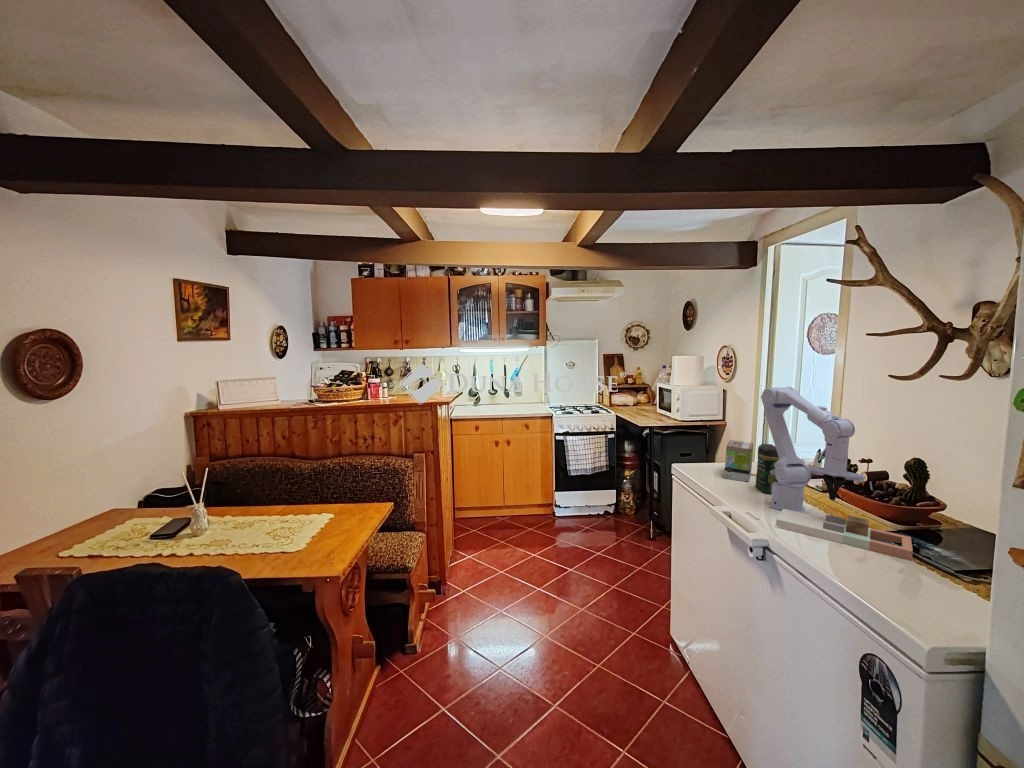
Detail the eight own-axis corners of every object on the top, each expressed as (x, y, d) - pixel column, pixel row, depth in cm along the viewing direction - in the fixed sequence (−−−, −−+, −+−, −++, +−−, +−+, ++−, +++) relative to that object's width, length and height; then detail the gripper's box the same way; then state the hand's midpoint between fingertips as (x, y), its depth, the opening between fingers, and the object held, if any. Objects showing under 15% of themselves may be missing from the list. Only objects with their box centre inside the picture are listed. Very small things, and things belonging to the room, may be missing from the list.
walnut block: (845, 531, 128) (846, 520, 128) (847, 526, 132) (847, 515, 131) (867, 536, 125) (868, 525, 124) (868, 531, 128) (869, 519, 128)
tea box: (749, 482, 181) (751, 448, 180) (723, 478, 187) (725, 445, 185) (751, 473, 194) (753, 441, 193) (727, 470, 199) (728, 439, 198)
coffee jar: (752, 486, 177) (755, 442, 175) (772, 487, 176) (775, 442, 174) (762, 494, 167) (765, 447, 165) (784, 495, 166) (787, 448, 164)
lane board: (775, 526, 137) (776, 513, 137) (782, 515, 146) (783, 503, 146) (911, 560, 116) (913, 545, 116) (909, 545, 125) (911, 531, 125)
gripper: (806, 455, 137) (803, 496, 138) (864, 464, 127) (860, 508, 128) (809, 451, 142) (806, 491, 143) (866, 459, 132) (862, 502, 133)
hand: (832, 499), depth 136 cm, fingers closed
